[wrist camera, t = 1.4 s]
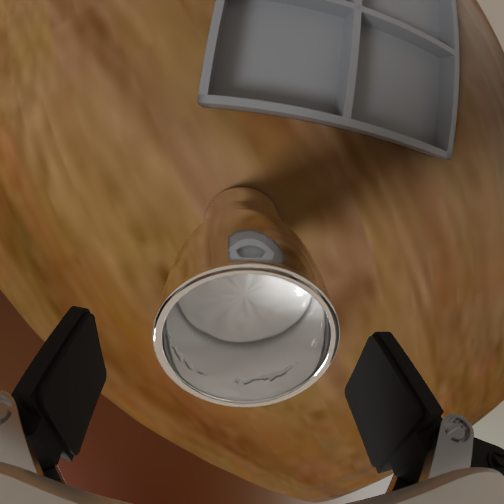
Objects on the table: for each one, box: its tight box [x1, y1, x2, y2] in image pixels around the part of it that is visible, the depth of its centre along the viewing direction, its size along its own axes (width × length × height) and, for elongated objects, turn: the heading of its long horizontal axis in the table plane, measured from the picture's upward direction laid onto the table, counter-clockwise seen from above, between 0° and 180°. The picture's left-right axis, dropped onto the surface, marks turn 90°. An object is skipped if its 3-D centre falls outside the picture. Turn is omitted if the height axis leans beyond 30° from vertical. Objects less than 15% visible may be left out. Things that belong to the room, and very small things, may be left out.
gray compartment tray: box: [197, 0, 459, 160], centre depth 16 cm, size 20×20×3 cm
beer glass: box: [152, 187, 340, 407], centre depth 16 cm, size 7×7×15 cm
